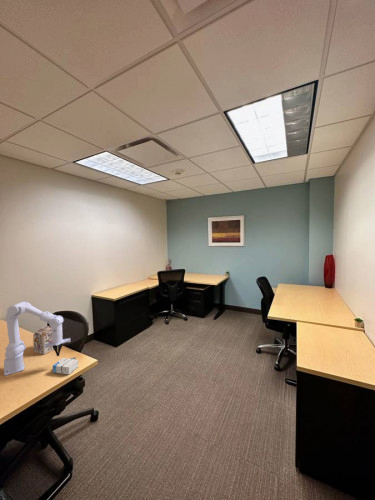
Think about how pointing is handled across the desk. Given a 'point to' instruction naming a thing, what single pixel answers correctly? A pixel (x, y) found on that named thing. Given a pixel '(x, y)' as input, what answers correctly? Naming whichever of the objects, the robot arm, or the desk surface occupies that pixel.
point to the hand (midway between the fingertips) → (57, 355)
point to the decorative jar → (42, 340)
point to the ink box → (65, 366)
